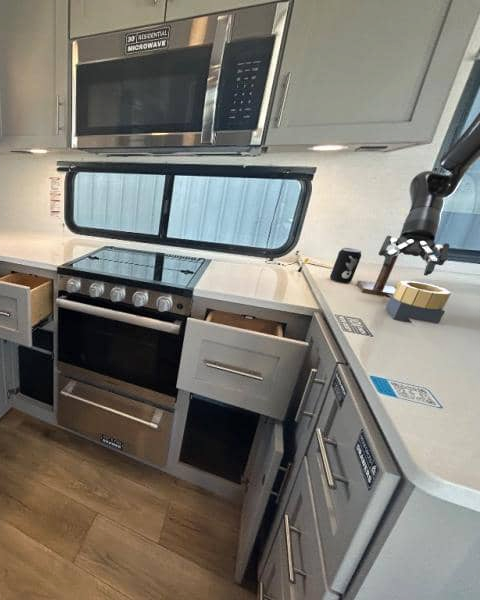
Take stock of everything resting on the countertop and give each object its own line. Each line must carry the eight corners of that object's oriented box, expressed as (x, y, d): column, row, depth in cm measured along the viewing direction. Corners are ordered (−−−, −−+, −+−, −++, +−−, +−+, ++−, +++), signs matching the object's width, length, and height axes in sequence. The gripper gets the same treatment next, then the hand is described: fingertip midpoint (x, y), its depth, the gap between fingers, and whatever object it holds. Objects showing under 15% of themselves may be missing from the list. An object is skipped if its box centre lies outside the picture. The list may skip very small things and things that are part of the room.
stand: (391, 290, 116) (408, 253, 111) (399, 299, 108) (418, 259, 103) (356, 284, 120) (371, 248, 115) (362, 292, 112) (378, 254, 107)
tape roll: (439, 301, 93) (447, 287, 91) (445, 312, 86) (453, 297, 84) (392, 292, 99) (398, 278, 97) (394, 301, 92) (400, 286, 90)
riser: (424, 316, 96) (432, 300, 94) (436, 327, 89) (445, 311, 87) (385, 308, 100) (392, 293, 98) (393, 319, 93) (400, 303, 91)
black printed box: (332, 282, 121) (344, 250, 117) (326, 276, 127) (337, 246, 122) (353, 284, 120) (366, 252, 115) (346, 279, 125) (358, 248, 121)
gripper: (393, 214, 100) (378, 258, 96) (460, 221, 92) (446, 269, 88) (385, 230, 106) (371, 271, 102) (448, 238, 98) (434, 283, 94)
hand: (406, 270), depth 95 cm, fingers open, 8 cm apart
